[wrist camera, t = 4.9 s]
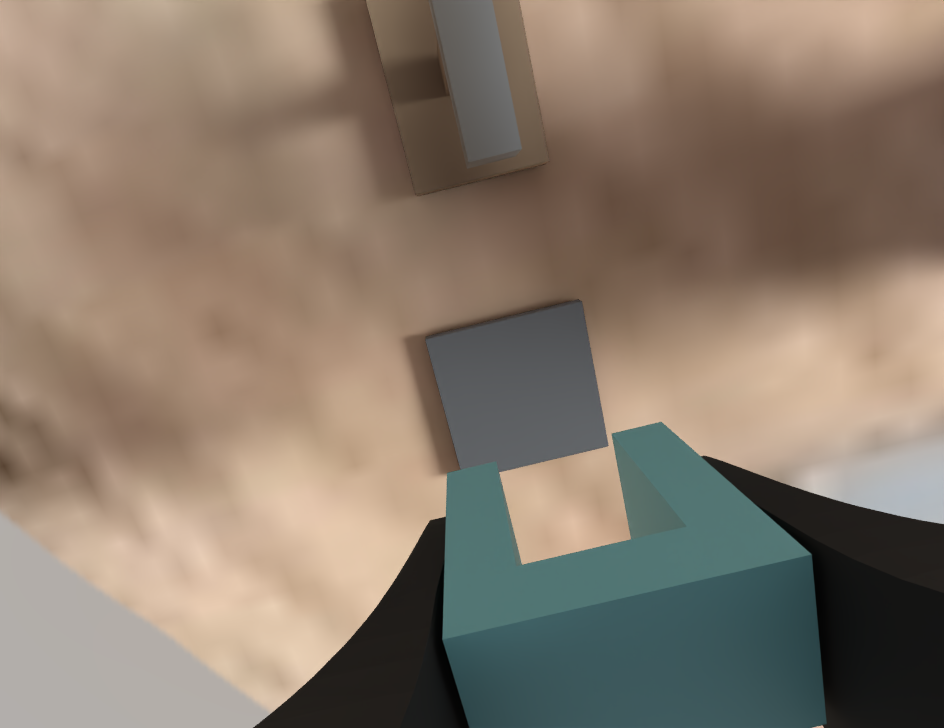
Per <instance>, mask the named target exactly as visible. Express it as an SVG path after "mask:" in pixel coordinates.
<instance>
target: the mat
mask: <svg viewBox="0 0 944 728" xmlns="http://www.w3.org/2000/svg"><path fill="white" fill-rule="evenodd" d="M425 341H426V344H427V348H428V352H429V355H430V359H431V363H432V366H433V370H434V374H435V378H436V381H437V385H438V389H439V392H440V396H441V400H442V403H443V407H444V411H445V414H446V418H447V422H448V425H449V429H450V433H451V437H452V440H453V444H454V448H455V451H456V455H457V459H458V462H459V466H460V470H462V469H466V468H470V467H474V466H478V465H483V464H487V463H491V462H495V461H496V462H497V466H498V470H499V472H502V471H506V470H511V469H515V468H519V467H523V466H527V465H532V464H536V463H540V462H544V461H548V460H553V459H557V458H561V457H565V456H569V455H574V454H578V453H582V452H586V451H591V450H595V449H599V448H603V447H607V446H608V440H607V435H606V430H605V424H604V419H603V413H602V408H601V403H600V397H599V392H598V386H597V381H596V375H595V370H594V365H593V359H592V354H591V348H590V343H589V338H588V332H587V327H586V321H585V316H584V311H583V305H582V301H580V300H573V301H569V302H565V303H561V304H557V305H553V306H549V307H545V308H541V309H537V310H533V311H529V312H524V313H520V314H516V315H512V316H508V317H504V318H500V319H496V320H492V321H488V322H484V323H480V324H475V325H471V326H467V327H463V328H459V329H455V330H451V331H447V332H443V333H439V334H435V335H431V336H426V339H425Z"/></svg>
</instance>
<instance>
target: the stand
mask: <svg viewBox="0 0 944 728" xmlns="http://www.w3.org/2000/svg"><path fill="white" fill-rule="evenodd" d="M366 3H367V7H368V11H369V15H370V19H371V23H372V27H373V30H374V34H375V38H376V42H377V46H378V50H379V54H380V58H381V62H382V66H383V69H384V73H385V77H386V81H387V85H388V89H389V93H390V97H391V101H392V104H393V108H394V112H395V116H396V120H397V124H398V128H399V132H400V136H401V140H402V143H403V147H404V151H405V155H406V159H407V163H408V167H409V171H410V175H411V179H412V182H413V186H414V190H415V194H416V195H417V196H421V195H425V194H429V193H433V192H437V191H441V190H445V189H449V188H453V187H457V186H461V185H465V184H469V183H473V182H477V181H481V180H485V179H489V178H492V177H496V176H500V175H504V174H508V173H512V172H516V171H520V170H524V169H528V168H532V167H536V166H540V165H544V164H546V163H547V162H549V156H548V151H547V145H546V140H545V135H544V129H543V124H542V119H541V113H540V108H539V103H538V97H537V92H536V87H535V81H534V76H533V71H532V65H531V60H530V55H529V49H528V44H527V39H526V34H525V28H524V23H523V18H522V12H521V7H520V2H519V0H366Z"/></svg>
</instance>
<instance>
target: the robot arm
mask: <svg viewBox="0 0 944 728" xmlns="http://www.w3.org/2000/svg"><path fill="white" fill-rule="evenodd" d="M701 457H702V458H703V459H704V460H705V461H706V462H707V463H709V464H710V465H711V466H712V467H713V468H714V469H715V470H717V471H718V472H719V473H720V474H721V475H722V476H723V477H724V478H726V479H727V480H728V481H729V482H730V483H731V484H732V485H734V486H735V487H736V488H737V489H738V490H739V491H740V492H741V493H743V494H744V495H745V496H746V497H747V498H748V499H749V500H751V501H752V502H753V503H754V504H755V505H756V506H757V507H758V508H760V509H761V510H762V511H763V512H764V513H765V514H766V515H768V516H769V517H770V518H771V519H772V520H773V521H774V522H775V523H777V524H778V525H779V526H780V527H781V528H782V529H783V530H785V531H786V532H787V533H788V534H789V535H790V536H791V537H792V538H794V539H795V540H796V541H797V542H798V543H799V544H800V545H802V546H803V547H804V548H805V549H806V550H807V551H808V552H809V553H811V554H812V563H813V575H814V586H815V597H816V609H817V620H818V631H819V643H820V654H821V665H822V677H823V688H824V699H825V711H826V722H827V724H825V725H823V727H824V728H944V524H939V523H933V522H927V521H921V520H916V519H911V518H906V517H901V516H897V515H892V514H888V513H884V512H880V511H875V510H871V509H867V508H863V507H859V506H855V505H851V504H847V503H844V502H840V501H837V500H833V499H830V498H827V497H824V496H820V495H817V494H814V493H810V492H807V491H804V490H801V489H798V488H795V487H792V486H789V485H786V484H783V483H781V482H778V481H775V480H772V479H769V478H767V477H764V476H761V475H758V474H756V473H753V472H750V471H748V470H745V469H742V468H740V467H737V466H734V465H731V464H729V463H726V462H723V461H720V460H717V459H714V458H711V457H707V456H701ZM445 531H446V517H443V518H439V519H434V520H430V521H429V523H428V525H427V526H426V528H425V530H424V531H423V533H422V535H421V537H420V538H419V540H418V542H417V544H416V546H415V547H414V549H413V551H412V553H411V554H410V556H409V558H408V560H407V561H406V563H405V564H404V566H403V568H402V569H401V571H400V573H399V574H398V576H397V578H396V579H395V581H394V582H393V584H392V585H391V587H390V588H389V590H388V591H387V592H386V594H385V595H384V597H383V598H382V600H381V601H380V603H379V604H378V605H377V607H376V608H375V609H374V611H373V612H372V613H371V615H370V616H369V617H368V618H367V620H366V621H365V622H364V623H363V624H362V626H361V627H360V628H359V629H358V630H357V632H356V633H355V634H354V635H353V636H352V637H351V639H350V640H349V641H348V642H347V643H346V644H345V645H344V646H343V647H342V648H341V649H340V650H339V651H338V652H337V653H336V654H335V655H334V656H333V657H332V658H331V659H330V660H329V661H328V662H327V663H326V664H325V665H324V666H323V667H322V668H321V669H320V670H319V671H318V672H317V674H316V675H315V676H314V677H312V678H311V679H310V680H309V681H308V682H307V683H306V684H305V685H304V686H303V687H302V688H300V689H299V690H298V691H297V692H296V693H295V694H294V695H293V696H291V697H290V698H289V699H288V700H287V701H286V702H284V703H283V704H282V705H281V706H280V707H278V708H277V709H276V710H275V711H274V712H272V713H271V714H270V715H269V716H267V717H266V718H265V719H264V720H262V721H261V722H260V723H259V724H257V725H256V726H255V727H253V728H469V725H468V721H467V718H466V715H465V712H464V708H463V705H462V702H461V699H460V695H459V692H458V689H457V685H456V682H455V679H454V676H453V672H452V669H451V666H450V663H449V659H448V656H447V653H446V649H445V646H444V643H443V640H442V638H443V603H444V567H445Z"/></svg>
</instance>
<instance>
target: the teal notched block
mask: <svg viewBox="0 0 944 728" xmlns="http://www.w3.org/2000/svg"><path fill="white" fill-rule="evenodd" d="M612 439H613V444H614V449H615V455H616V460H617V466H618V471H619V476H620V482H621V487H622V492H623V498H624V503H625V509H626V514H627V519H628V525H629V530H630V535H631V540H626V541H622V542H618V543H614V544H609V545H605V546H601V547H596V548H592V549H588V550H584V551H579V552H575V553H571V554H566V555H562V556H558V557H554V558H549V559H545V560H541V561H536V562H532V563H528V564H524V565H522V563H521V559H520V555H519V551H518V547H517V543H516V539H515V535H514V531H513V527H512V523H511V519H510V515H509V511H508V507H507V503H506V499H505V495H504V491H503V486H502V482H501V478H500V474H499V470H498V466H497V462H496V461H495V462H491V463H487V464H483V465H478V466H474V467H470V468H466V469H462V470H457V471H453V472H449V473H447V496H446V531H445V567H444V603H443V638H442V640H443V643H444V646H445V649H446V653H447V656H448V659H449V663H450V666H451V669H452V672H453V676H454V679H455V682H456V685H457V689H458V692H459V695H460V699H461V702H462V705H463V708H464V712H465V715H466V718H467V721H468V725H469V728H812V727H816V726H821V725H825V724H827V722H826V711H825V699H824V688H823V677H822V665H821V654H820V643H819V631H818V620H817V609H816V597H815V586H814V575H813V563H812V554H811V553H809V552H808V551H807V550H806V549H805V548H804V547H803V546H802V545H800V544H799V543H798V542H797V541H796V540H795V539H794V538H792V537H791V536H790V535H789V534H788V533H787V532H786V531H785V530H783V529H782V528H781V527H780V526H779V525H778V524H777V523H775V522H774V521H773V520H772V519H771V518H770V517H769V516H768V515H766V514H765V513H764V512H763V511H762V510H761V509H760V508H758V507H757V506H756V505H755V504H754V503H753V502H752V501H751V500H749V499H748V498H747V497H746V496H745V495H744V494H743V493H741V492H740V491H739V490H738V489H737V488H736V487H735V486H734V485H732V484H731V483H730V482H729V481H728V480H727V479H726V478H724V477H723V476H722V475H721V474H720V473H719V472H718V471H717V470H715V469H714V468H713V467H712V466H711V465H710V464H709V463H707V462H706V461H705V460H704V459H703V458H702V457H701V456H700V455H698V454H697V453H696V452H695V451H694V450H693V449H692V448H690V447H689V446H688V445H687V444H686V443H685V442H684V441H683V440H681V439H680V438H679V437H678V436H677V435H676V434H675V433H673V432H672V431H671V430H670V429H669V428H668V427H667V426H666V425H664V424H663V423H662V422H659V423H655V424H650V425H646V426H642V427H638V428H634V429H629V430H625V431H621V432H617V433H613V434H612Z"/></svg>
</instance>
